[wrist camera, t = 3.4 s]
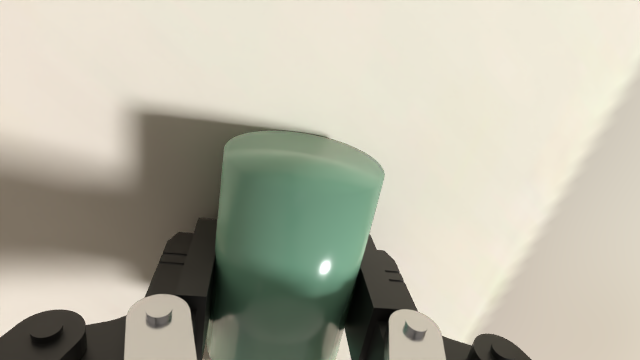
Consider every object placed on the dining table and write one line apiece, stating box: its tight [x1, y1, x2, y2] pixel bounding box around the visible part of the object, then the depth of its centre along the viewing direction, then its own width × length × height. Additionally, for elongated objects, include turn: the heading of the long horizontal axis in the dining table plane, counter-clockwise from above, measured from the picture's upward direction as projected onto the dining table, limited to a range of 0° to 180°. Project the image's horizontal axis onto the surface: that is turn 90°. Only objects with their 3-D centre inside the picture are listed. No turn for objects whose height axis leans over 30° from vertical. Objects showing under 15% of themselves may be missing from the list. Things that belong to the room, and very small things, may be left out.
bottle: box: [206, 130, 384, 360], centre depth 12 cm, size 9×4×4 cm, turn 170°
